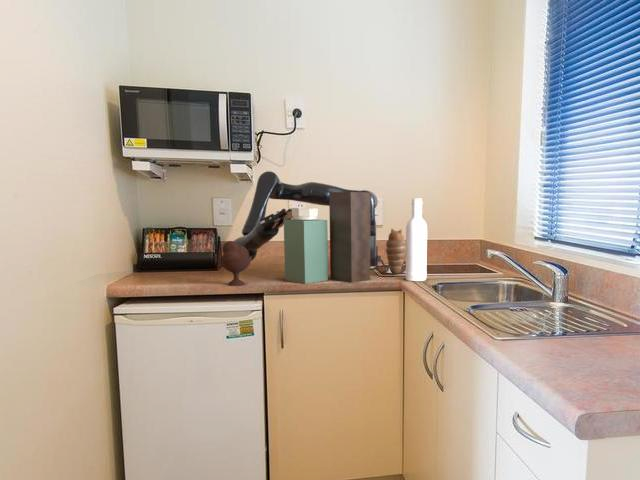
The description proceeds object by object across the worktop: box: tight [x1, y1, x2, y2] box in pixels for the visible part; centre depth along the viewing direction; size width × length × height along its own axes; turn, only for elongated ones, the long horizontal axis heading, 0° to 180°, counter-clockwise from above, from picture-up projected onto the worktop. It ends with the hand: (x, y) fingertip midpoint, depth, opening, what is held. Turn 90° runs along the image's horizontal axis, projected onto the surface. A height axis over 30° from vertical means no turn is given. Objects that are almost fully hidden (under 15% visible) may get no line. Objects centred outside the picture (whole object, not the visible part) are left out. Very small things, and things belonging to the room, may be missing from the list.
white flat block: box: [276, 207, 319, 220], centre depth 187 cm, size 9×20×4 cm, turn 52°
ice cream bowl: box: [218, 240, 252, 287], centre depth 176 cm, size 11×11×15 cm
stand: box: [328, 192, 371, 283], centre depth 188 cm, size 10×11×32 cm
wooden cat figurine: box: [385, 228, 406, 275], centre depth 204 cm, size 9×8×18 cm
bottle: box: [404, 198, 428, 282], centre depth 190 cm, size 8×8×30 cm
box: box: [283, 219, 329, 285], centre depth 186 cm, size 11×11×22 cm
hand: (288, 210), depth 189 cm, fingers closed on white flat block, 2 cm apart
